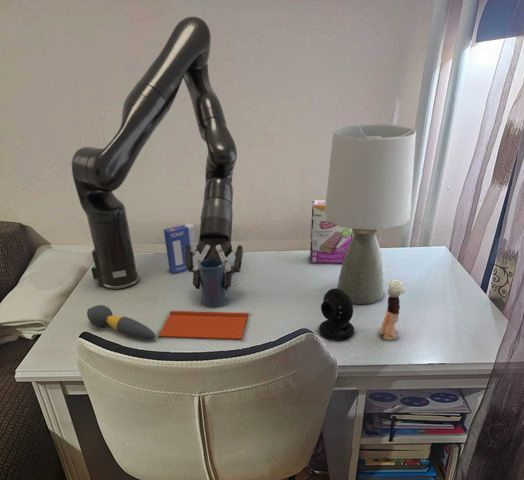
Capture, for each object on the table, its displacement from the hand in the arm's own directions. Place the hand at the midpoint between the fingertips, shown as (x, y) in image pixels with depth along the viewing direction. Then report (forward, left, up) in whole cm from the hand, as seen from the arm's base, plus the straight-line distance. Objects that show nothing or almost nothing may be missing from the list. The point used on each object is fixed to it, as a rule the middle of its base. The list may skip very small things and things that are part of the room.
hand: (211, 288), depth 115 cm
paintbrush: (-18, -13, -5) cm, 23 cm away
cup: (0, +2, -5) cm, 5 cm away
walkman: (-12, +21, -5) cm, 24 cm away
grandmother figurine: (+40, -11, -5) cm, 42 cm away
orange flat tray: (0, -9, -5) cm, 10 cm away
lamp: (+35, +8, -5) cm, 36 cm away
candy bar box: (+28, +28, -5) cm, 40 cm away
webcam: (+29, -10, -5) cm, 31 cm away
